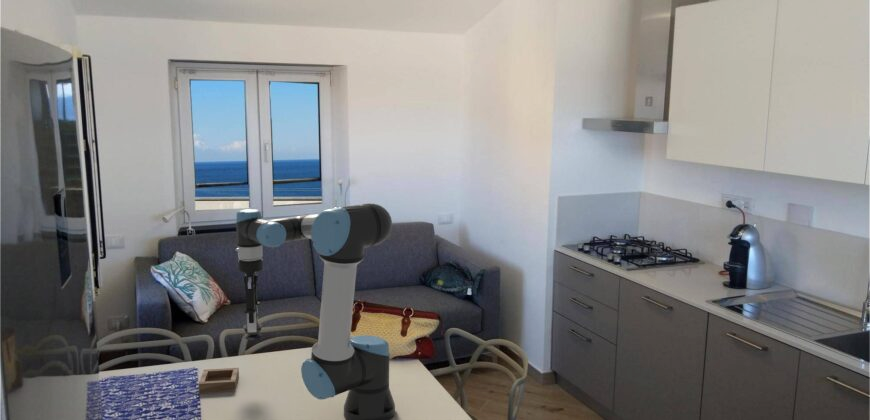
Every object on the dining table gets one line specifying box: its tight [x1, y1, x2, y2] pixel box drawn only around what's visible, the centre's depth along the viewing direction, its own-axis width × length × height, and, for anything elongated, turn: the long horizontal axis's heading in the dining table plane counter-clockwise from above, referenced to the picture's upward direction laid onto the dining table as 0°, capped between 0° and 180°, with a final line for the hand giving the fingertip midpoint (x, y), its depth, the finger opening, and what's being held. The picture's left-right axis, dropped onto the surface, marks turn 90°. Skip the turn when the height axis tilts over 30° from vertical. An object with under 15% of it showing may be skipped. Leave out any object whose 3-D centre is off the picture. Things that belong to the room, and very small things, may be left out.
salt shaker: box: [243, 304, 263, 341], centre depth 212 cm, size 6×6×12 cm
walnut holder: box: [198, 367, 240, 395], centre depth 213 cm, size 11×11×3 cm
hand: (252, 328), depth 212 cm, fingers closed on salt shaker, 6 cm apart
